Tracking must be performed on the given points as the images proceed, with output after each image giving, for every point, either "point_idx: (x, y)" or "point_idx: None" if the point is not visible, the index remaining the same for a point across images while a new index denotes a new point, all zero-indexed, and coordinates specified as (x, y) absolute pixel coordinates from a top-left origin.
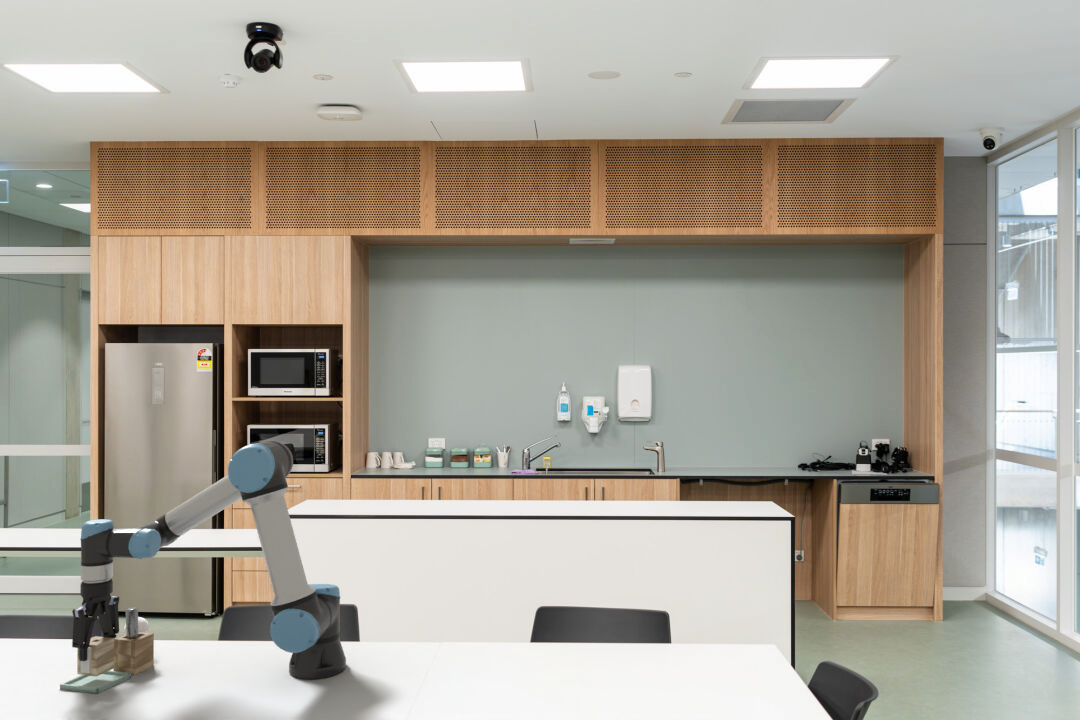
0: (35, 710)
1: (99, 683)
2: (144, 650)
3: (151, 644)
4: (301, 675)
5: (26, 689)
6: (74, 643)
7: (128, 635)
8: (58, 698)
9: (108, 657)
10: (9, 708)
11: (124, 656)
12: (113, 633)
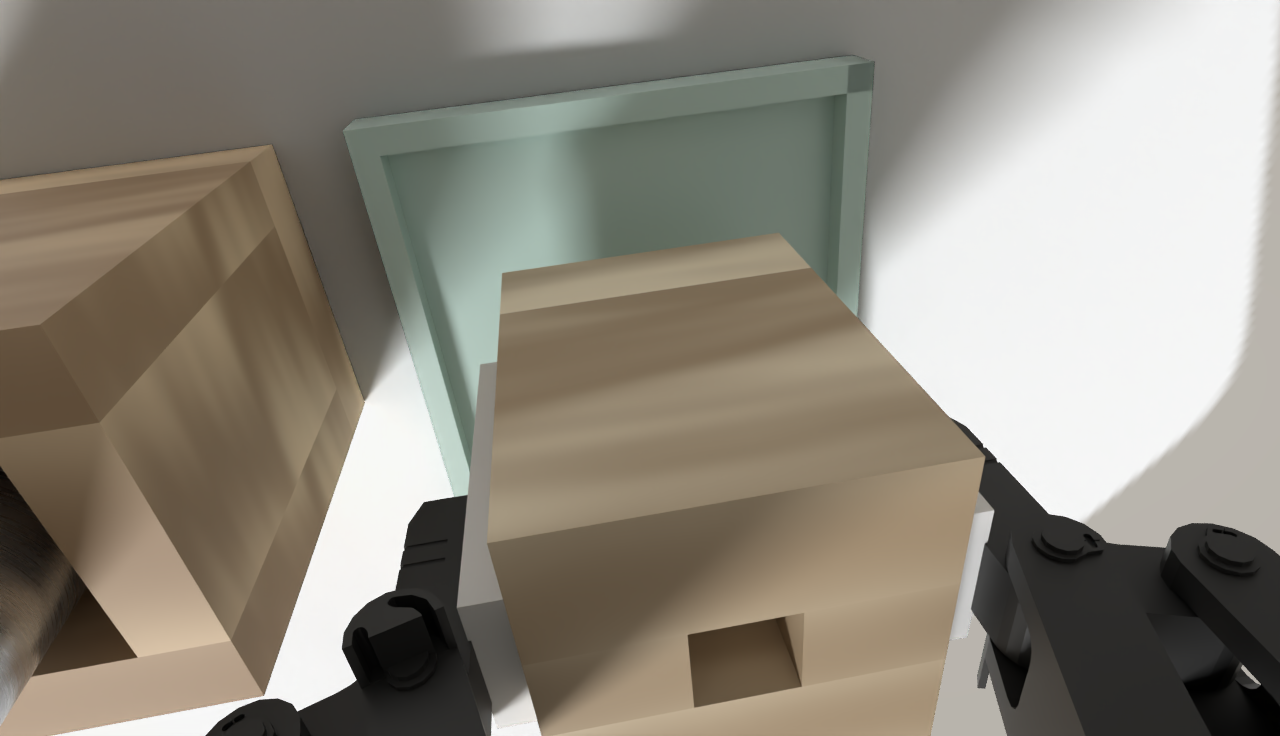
0: (1238, 238)
1: (672, 239)
2: None
3: None
4: None
5: None
6: (1236, 682)
7: (21, 619)
8: (999, 295)
9: (612, 336)
10: (1188, 428)
11: (267, 379)
12: (375, 709)
